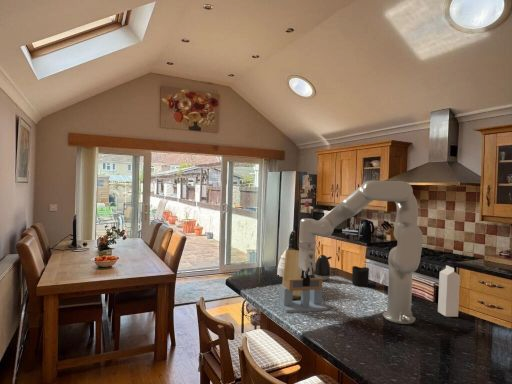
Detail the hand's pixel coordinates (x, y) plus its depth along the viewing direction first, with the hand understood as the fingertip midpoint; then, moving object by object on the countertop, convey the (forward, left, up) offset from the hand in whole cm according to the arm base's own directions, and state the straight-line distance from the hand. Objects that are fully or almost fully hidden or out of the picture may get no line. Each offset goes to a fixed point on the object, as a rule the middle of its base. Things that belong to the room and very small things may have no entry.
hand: (305, 285), depth 154 cm
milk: (-16, -64, -11) cm, 67 cm away
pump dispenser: (+45, -30, -11) cm, 55 cm away
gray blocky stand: (+2, 0, -11) cm, 11 cm away
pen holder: (+32, -48, -11) cm, 59 cm away
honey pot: (+58, -12, -11) cm, 60 cm away
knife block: (+26, -5, -11) cm, 29 cm away
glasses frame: (+4, 0, -2) cm, 4 cm away
